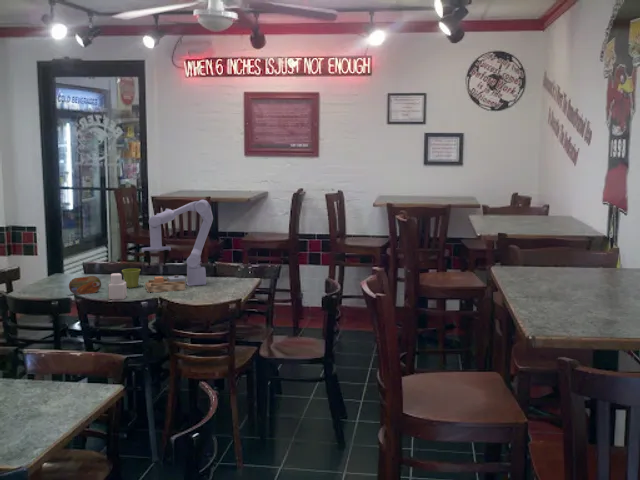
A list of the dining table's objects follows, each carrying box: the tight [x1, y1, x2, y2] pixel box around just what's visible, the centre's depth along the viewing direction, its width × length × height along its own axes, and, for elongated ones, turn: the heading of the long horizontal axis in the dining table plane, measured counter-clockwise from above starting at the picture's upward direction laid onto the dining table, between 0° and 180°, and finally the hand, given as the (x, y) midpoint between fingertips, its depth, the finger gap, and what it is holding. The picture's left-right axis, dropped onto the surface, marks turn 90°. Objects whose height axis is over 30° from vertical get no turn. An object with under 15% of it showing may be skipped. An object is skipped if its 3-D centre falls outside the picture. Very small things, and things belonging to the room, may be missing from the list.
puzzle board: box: [144, 278, 186, 294], centre depth 355 cm, size 18×12×4 cm, turn 111°
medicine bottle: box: [107, 272, 128, 300], centre depth 335 cm, size 7×7×12 cm
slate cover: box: [166, 274, 187, 284], centre depth 357 cm, size 8×8×4 cm
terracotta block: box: [153, 275, 165, 283], centre depth 354 cm, size 4×4×6 cm
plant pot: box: [121, 268, 141, 289], centre depth 362 cm, size 9×9×9 cm
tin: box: [68, 275, 102, 296], centre depth 346 cm, size 15×3×8 cm, turn 122°
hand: (156, 264), depth 365 cm, fingers open, 7 cm apart
